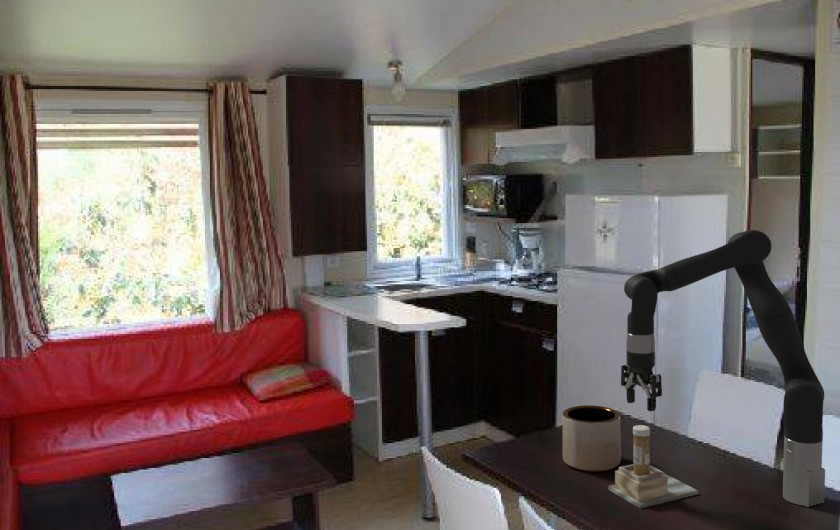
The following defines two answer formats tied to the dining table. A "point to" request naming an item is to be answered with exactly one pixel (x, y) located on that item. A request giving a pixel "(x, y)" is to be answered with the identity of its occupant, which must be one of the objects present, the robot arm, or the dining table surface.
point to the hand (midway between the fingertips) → (640, 406)
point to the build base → (672, 493)
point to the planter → (591, 438)
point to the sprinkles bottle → (641, 450)
